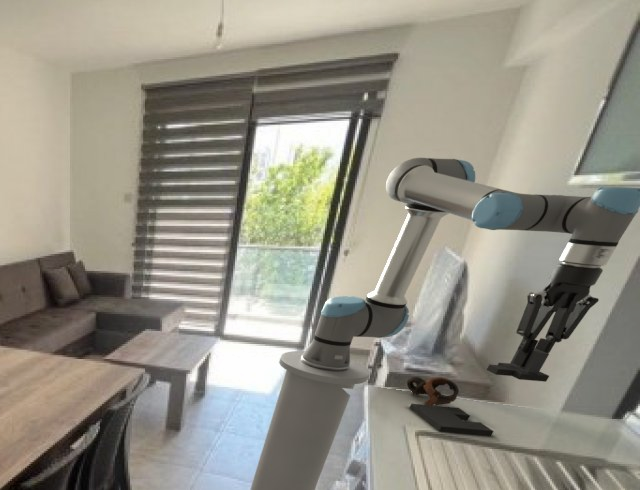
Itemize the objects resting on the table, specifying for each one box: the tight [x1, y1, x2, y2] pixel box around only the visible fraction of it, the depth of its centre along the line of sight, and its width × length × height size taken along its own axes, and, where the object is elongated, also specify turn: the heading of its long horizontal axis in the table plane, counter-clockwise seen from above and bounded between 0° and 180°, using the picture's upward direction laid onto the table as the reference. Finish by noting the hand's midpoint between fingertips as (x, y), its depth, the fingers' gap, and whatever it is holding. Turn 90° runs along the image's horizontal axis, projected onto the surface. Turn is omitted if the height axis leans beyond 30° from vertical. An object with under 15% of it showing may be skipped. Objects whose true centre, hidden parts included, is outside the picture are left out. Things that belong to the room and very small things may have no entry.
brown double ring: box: [406, 376, 459, 406], centre depth 136 cm, size 12×10×8 cm
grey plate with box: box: [486, 348, 550, 383], centre depth 117 cm, size 8×10×6 cm
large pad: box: [409, 403, 494, 437], centre depth 125 cm, size 14×12×2 cm
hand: (525, 365), depth 117 cm, fingers closed on grey plate with box, 2 cm apart
